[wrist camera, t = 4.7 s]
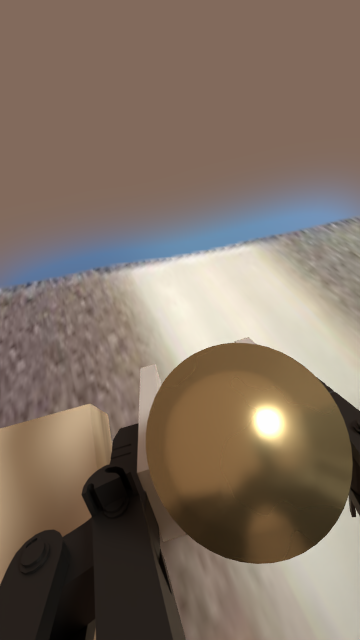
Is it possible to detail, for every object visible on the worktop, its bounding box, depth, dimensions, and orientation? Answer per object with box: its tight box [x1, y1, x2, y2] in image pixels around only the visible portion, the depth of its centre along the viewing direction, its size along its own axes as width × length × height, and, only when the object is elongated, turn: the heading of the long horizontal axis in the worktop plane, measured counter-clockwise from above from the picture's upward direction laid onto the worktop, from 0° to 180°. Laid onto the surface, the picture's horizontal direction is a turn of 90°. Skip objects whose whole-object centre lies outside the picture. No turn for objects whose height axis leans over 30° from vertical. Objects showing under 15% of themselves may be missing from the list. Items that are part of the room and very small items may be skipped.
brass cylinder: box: [146, 343, 353, 564], centre depth 11 cm, size 4×4×11 cm
